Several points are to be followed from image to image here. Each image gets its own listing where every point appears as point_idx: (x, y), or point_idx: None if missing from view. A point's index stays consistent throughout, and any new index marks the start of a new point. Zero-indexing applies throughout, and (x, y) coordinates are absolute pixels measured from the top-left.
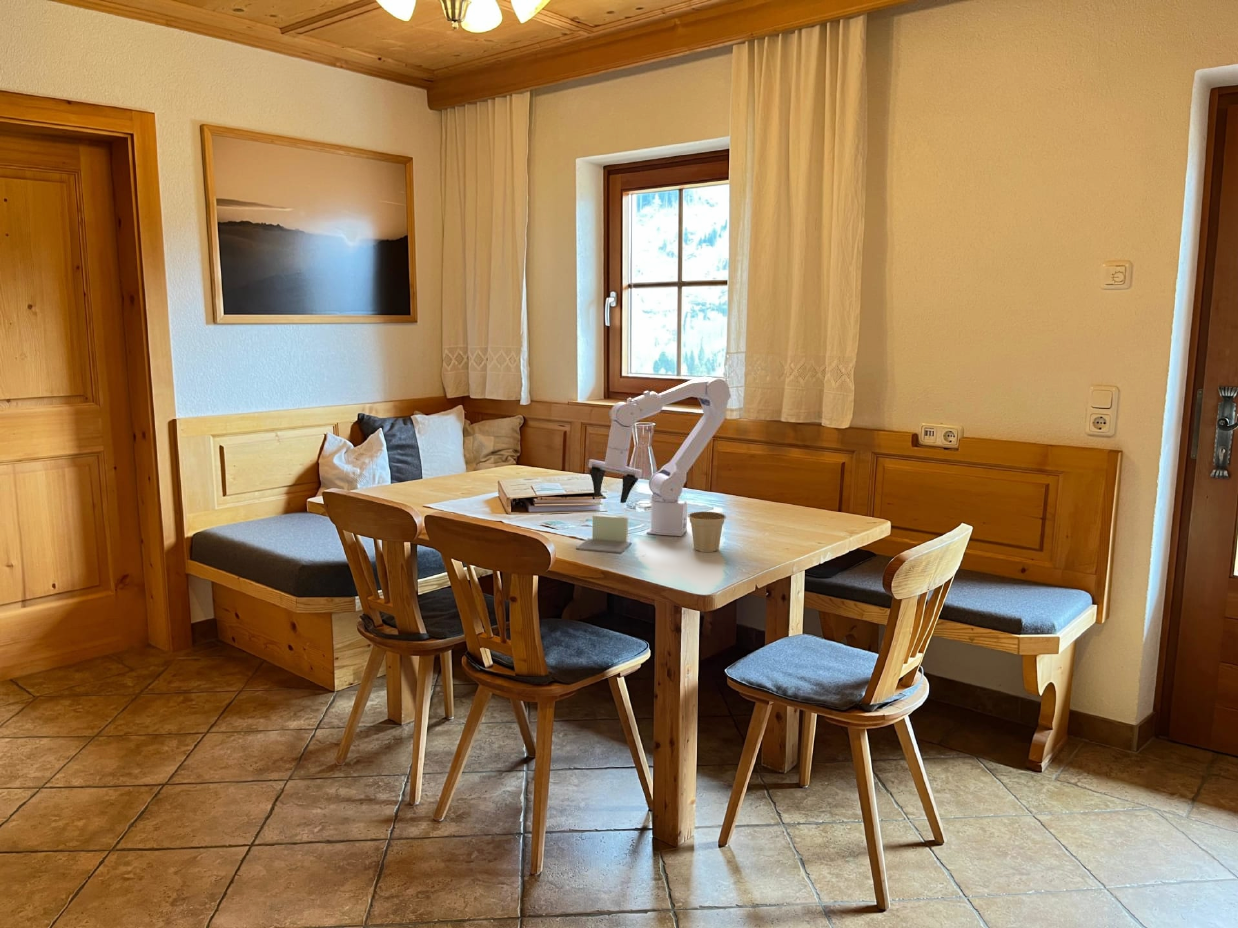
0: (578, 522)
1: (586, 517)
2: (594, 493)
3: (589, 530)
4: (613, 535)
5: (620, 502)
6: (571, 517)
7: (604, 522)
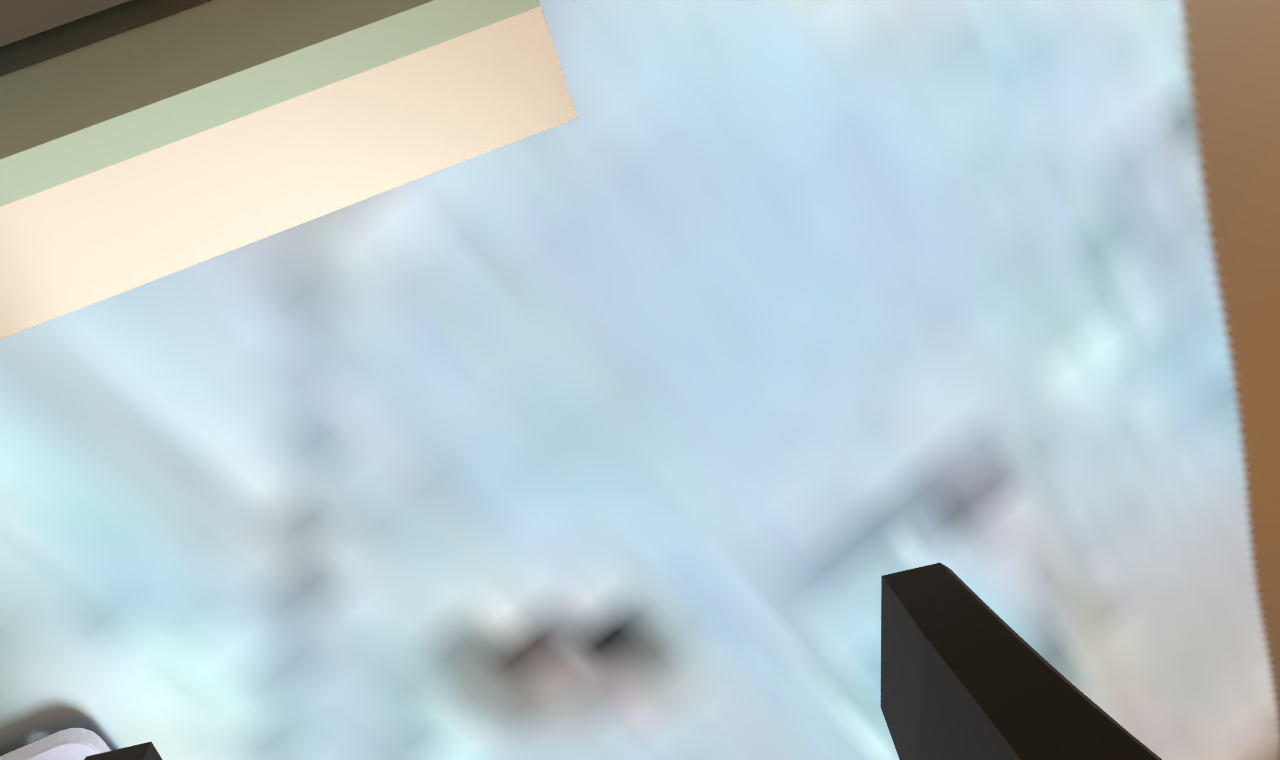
0: (1094, 537)
1: None
2: (975, 609)
3: (814, 357)
4: (60, 71)
5: (151, 745)
6: (1232, 625)
7: (226, 49)
